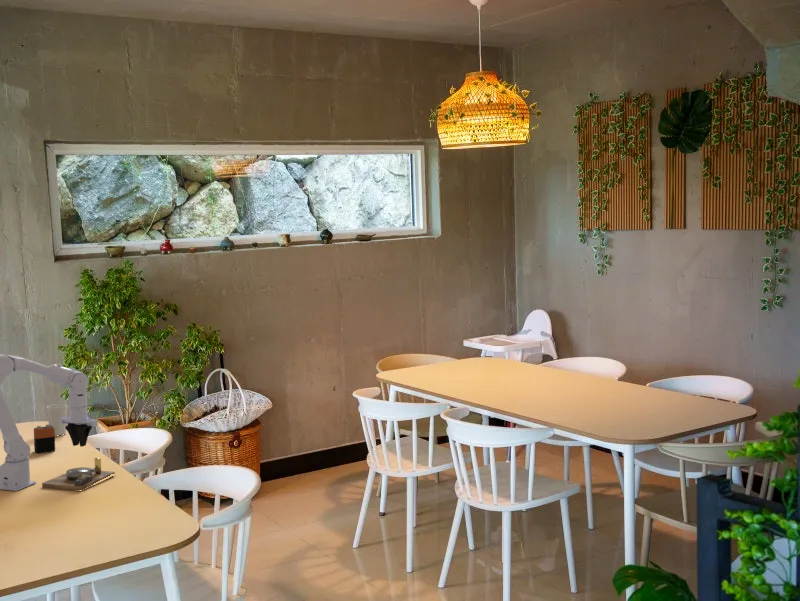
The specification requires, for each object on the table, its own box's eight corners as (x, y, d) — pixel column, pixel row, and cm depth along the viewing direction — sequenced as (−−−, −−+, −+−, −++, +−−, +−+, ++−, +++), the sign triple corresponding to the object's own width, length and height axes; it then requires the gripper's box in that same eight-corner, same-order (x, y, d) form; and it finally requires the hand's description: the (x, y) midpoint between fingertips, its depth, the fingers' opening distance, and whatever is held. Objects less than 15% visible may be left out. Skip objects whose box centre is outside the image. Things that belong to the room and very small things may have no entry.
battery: (55, 451, 327) (54, 425, 327) (36, 453, 324) (35, 427, 323) (53, 448, 331) (52, 423, 330) (34, 451, 327) (33, 425, 326)
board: (81, 491, 276) (80, 478, 276) (42, 487, 281) (41, 474, 280) (115, 476, 294) (114, 464, 293) (77, 472, 298) (77, 460, 298)
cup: (61, 437, 349) (60, 408, 348) (43, 436, 351) (42, 407, 350) (72, 432, 357) (71, 404, 356) (55, 432, 359) (54, 403, 358)
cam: (72, 481, 281) (71, 466, 281) (62, 476, 287) (62, 461, 287) (106, 474, 289) (105, 459, 289) (95, 469, 295) (95, 455, 295)
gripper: (103, 405, 294) (104, 444, 295) (70, 402, 299) (71, 441, 300) (88, 409, 287) (90, 449, 288) (55, 406, 293) (56, 445, 294)
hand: (79, 445), depth 294 cm, fingers closed
